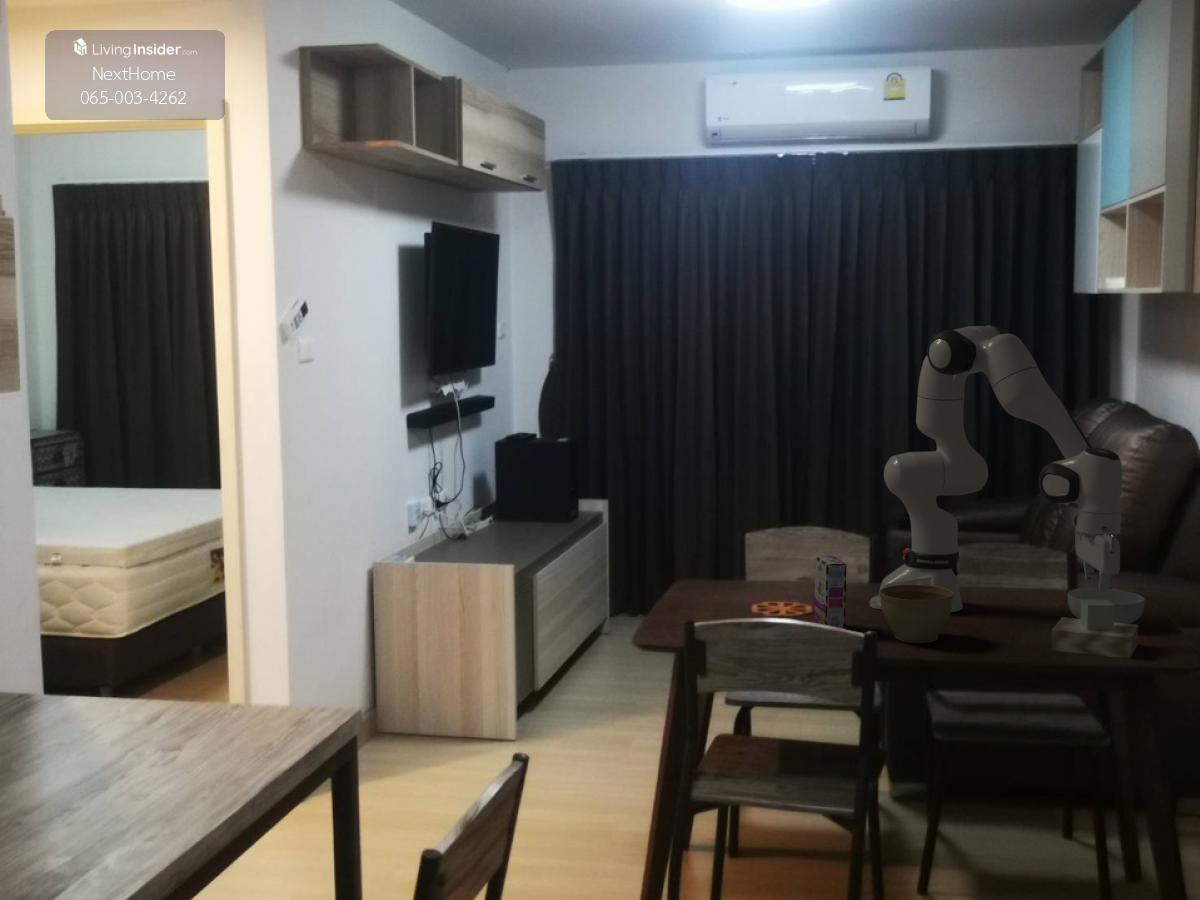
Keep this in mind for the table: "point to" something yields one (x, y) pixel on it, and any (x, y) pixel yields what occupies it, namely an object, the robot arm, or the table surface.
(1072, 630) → the birch riser
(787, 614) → the table surface
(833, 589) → the candy bar box
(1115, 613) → the cereal bowl
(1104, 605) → the sage block
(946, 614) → the planter bowl
